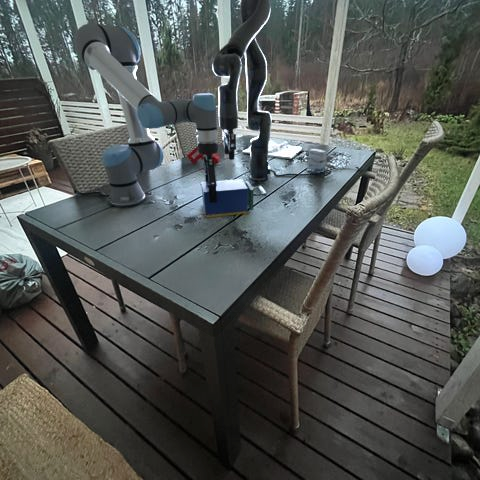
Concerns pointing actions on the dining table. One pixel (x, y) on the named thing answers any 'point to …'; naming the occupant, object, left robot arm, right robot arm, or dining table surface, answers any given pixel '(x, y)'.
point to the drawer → (251, 194)
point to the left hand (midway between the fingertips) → (211, 195)
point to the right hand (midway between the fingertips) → (229, 156)
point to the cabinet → (226, 198)
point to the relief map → (280, 150)
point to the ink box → (316, 160)
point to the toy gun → (200, 156)
